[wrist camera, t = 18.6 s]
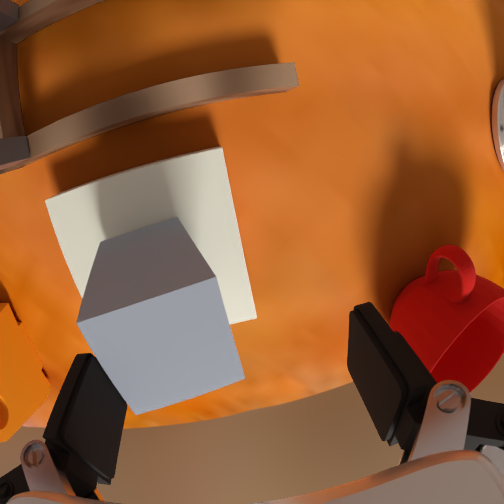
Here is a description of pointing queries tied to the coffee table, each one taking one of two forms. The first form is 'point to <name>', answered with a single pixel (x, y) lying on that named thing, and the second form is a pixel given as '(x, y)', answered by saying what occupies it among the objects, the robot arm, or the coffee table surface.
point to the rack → (123, 107)
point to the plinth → (159, 218)
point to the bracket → (18, 375)
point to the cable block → (158, 318)
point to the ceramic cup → (452, 319)
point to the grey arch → (16, 148)
